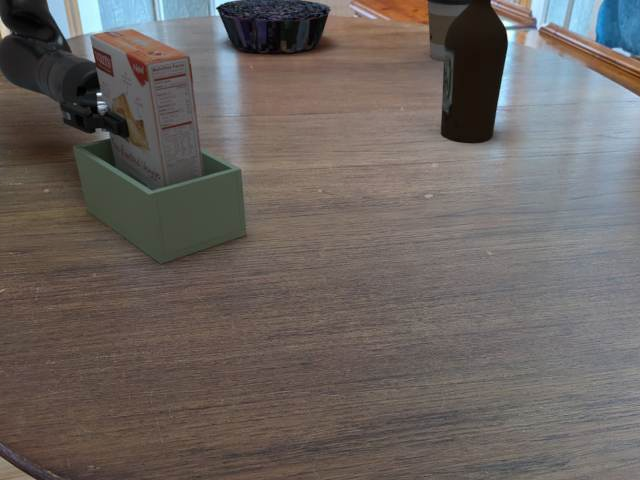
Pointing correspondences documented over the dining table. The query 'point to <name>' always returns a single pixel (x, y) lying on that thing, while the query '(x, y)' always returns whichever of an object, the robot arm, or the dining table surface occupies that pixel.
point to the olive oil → (473, 73)
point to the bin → (164, 204)
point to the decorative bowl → (274, 24)
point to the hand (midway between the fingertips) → (150, 124)
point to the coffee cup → (442, 22)
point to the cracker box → (150, 107)
